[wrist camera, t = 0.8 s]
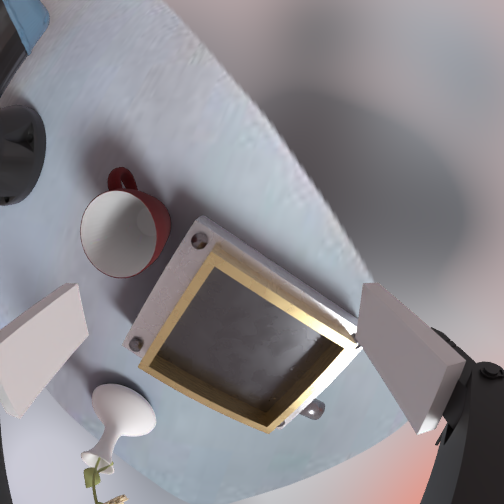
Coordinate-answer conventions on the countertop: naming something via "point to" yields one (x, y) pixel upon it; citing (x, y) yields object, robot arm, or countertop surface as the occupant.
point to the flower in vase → (115, 429)
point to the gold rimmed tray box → (241, 332)
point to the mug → (124, 227)
